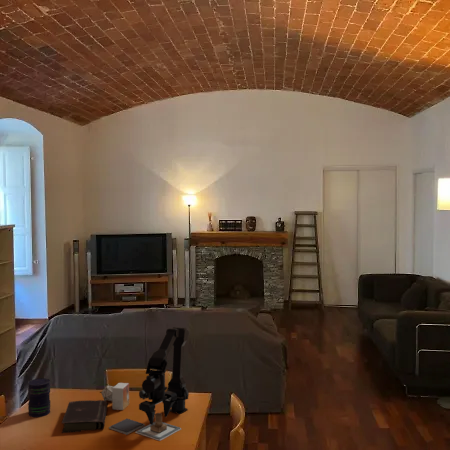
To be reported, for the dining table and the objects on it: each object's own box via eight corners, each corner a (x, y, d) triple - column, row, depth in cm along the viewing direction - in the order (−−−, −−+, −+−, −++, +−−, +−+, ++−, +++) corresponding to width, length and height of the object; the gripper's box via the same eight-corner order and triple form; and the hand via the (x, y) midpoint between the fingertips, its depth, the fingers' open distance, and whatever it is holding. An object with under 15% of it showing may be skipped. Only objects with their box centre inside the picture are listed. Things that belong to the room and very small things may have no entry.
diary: (107, 409, 253) (107, 399, 253) (104, 432, 228) (104, 420, 228) (67, 411, 250) (67, 401, 250) (59, 434, 225) (59, 422, 225)
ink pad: (126, 419, 239) (126, 417, 239) (144, 425, 233) (144, 423, 233) (108, 428, 230) (108, 426, 230) (126, 434, 224) (126, 432, 224)
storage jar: (28, 418, 240) (28, 386, 240) (27, 411, 249) (27, 379, 249) (51, 415, 244) (51, 383, 244) (49, 407, 253) (49, 377, 253)
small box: (123, 410, 250) (123, 388, 250) (112, 409, 251) (111, 387, 251) (129, 404, 258) (129, 383, 257) (118, 403, 259) (118, 382, 258)
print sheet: (157, 421, 237) (157, 420, 237) (181, 429, 229) (181, 427, 229) (135, 432, 226) (135, 431, 226) (160, 441, 218) (160, 439, 218)
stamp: (158, 426, 231) (158, 411, 231) (166, 429, 228) (166, 413, 228) (150, 430, 227) (150, 414, 227) (159, 433, 224) (159, 417, 224)
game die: (113, 407, 263) (125, 391, 264) (104, 407, 255) (117, 390, 256) (101, 396, 267) (114, 379, 268) (93, 395, 259) (105, 378, 260)
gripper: (158, 375, 239) (158, 409, 240) (129, 387, 224) (129, 423, 224) (177, 380, 233) (177, 415, 233) (148, 392, 217) (149, 430, 218)
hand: (158, 420), depth 227 cm, fingers open, 9 cm apart
